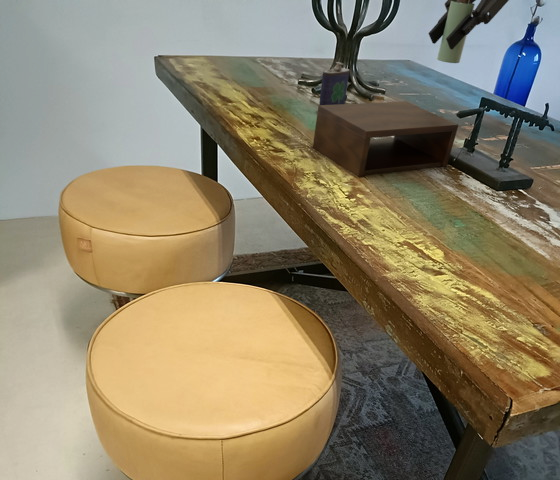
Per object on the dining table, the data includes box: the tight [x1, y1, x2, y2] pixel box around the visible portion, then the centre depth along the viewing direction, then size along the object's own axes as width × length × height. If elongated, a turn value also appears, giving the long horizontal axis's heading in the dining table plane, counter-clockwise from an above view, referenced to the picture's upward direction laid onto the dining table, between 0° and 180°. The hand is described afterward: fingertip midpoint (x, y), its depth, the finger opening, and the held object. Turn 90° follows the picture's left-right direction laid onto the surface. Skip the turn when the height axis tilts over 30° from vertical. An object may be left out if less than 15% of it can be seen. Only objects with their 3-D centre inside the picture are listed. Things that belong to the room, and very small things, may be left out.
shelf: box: [312, 100, 459, 178], centre depth 111 cm, size 16×22×8 cm
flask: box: [318, 61, 351, 105], centre depth 133 cm, size 9×3×11 cm, turn 140°
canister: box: [436, 0, 475, 64], centre depth 123 cm, size 5×5×12 cm
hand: (440, 41), depth 123 cm, fingers closed on canister, 5 cm apart
